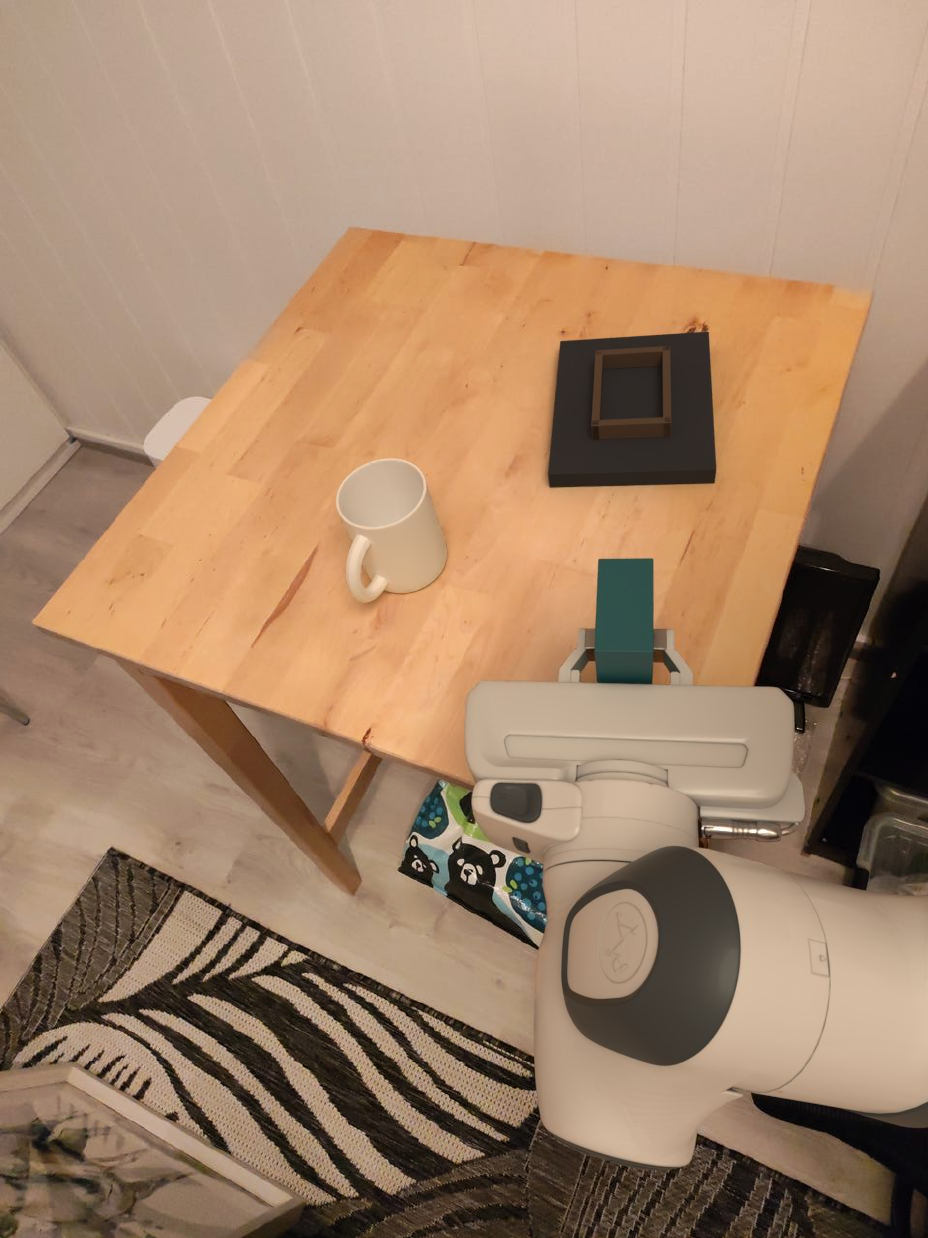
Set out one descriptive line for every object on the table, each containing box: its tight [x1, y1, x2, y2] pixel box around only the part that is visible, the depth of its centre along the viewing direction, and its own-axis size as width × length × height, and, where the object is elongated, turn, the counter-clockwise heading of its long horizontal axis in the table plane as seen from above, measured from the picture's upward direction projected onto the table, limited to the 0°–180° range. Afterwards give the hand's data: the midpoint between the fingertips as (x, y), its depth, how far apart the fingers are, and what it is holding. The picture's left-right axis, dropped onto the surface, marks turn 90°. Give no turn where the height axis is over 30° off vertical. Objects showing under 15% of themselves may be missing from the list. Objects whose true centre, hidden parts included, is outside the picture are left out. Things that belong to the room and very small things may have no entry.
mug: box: [335, 457, 448, 603], centre depth 74 cm, size 12×8×10 cm
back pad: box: [594, 557, 655, 684], centre depth 55 cm, size 4×7×11 cm, turn 173°
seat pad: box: [547, 331, 717, 488], centre depth 83 cm, size 16×20×4 cm
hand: (625, 632), depth 55 cm, fingers closed on back pad, 3 cm apart
